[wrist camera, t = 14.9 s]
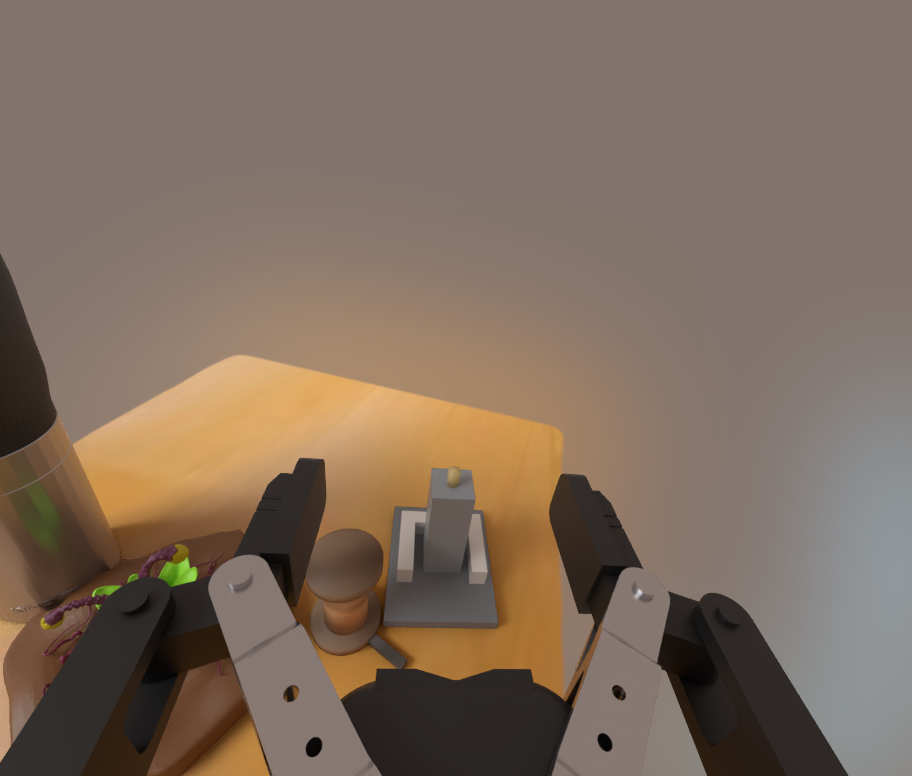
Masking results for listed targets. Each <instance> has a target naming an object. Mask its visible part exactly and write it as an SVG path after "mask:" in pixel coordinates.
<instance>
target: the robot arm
mask: <svg viewBox="0 0 912 776" xmlns="http://www.w3.org/2000/svg"><path fill="white" fill-rule="evenodd" d="M325 503H326V479H325V463H324V459H312V458H299V460H298V462H297V464H296V466H295V469H294V471H293V474H289V473H280V474H279V475H278V476H277V477H276V478H275V479H274V480H273V481H271V482H270V483H269V484H268V486H267V488H266V490H265V492H264V494H263V497H262V500H261V501H260V503H259V505H258V507H257V510H256V512H255V513H254V515H253V518H252V520H251V522H250V524H249V526H248V528H247V530H246V532H245V534H244V536H243V539H242V541H241V543H240V545H239V547H238V549H237V551H236V553H235V555H234V557H233V558H232V559H231V560H229V561H227V562H225V563H224V564H222V565H221V566H220V567H219V568H218V569H217V570H216V571H215V572H214V574H213V575H211V576H208V577H206V578H203V579H200V580H196V581H192V582H188V583H184V584H180V585H176V586H172V587H169V585H168V584H167V582H166V581H164V580H163V579H160V578H157V577H145V578H140V579H137V580H134V581H131V582H129V583H127V584H125V585H123V586H121V587H120V588H118V589H117V590H116V591H114V592H113V593H112V594H111V595H110V596H109V597H108V598H107V599H106V600H105V601H104V602H103V604H102V605H101V607H100V608H99V610H98V611H97V613H96V614H95V616H94V618H93V619H92V621H91V622H90V624H89V625H88V627H87V628H86V630H85V632H84V633H83V635H82V636H81V638H80V639H79V641H78V643H77V644H76V646H75V647H74V649H73V650H72V652H71V653H70V655H69V657H68V658H67V660H66V661H65V663H64V664H63V666H62V667H61V669H60V671H59V672H58V674H57V675H56V677H55V678H54V680H53V681H52V683H51V685H50V686H49V688H48V689H47V691H46V692H45V694H44V695H43V697H42V699H41V700H40V702H39V703H38V705H37V706H36V708H35V710H34V711H33V713H32V714H31V716H30V717H29V719H28V720H27V722H26V724H25V725H24V727H23V728H22V730H21V731H20V733H19V734H18V736H17V738H16V739H15V741H14V742H13V744H12V745H11V747H10V748H9V750H8V752H7V753H6V755H5V756H4V758H3V759H2V761H1V762H0V776H147V773H148V771H149V768H150V766H151V763H152V761H153V758H154V756H155V753H156V751H157V748H158V746H159V743H160V741H161V738H162V736H163V733H164V731H165V728H166V726H167V723H168V721H169V718H170V716H171V713H172V711H173V708H174V706H175V703H176V701H177V698H178V696H179V693H180V691H181V688H182V686H183V683H184V681H185V678H186V676H187V673H188V671H189V670H192V669H195V668H198V667H201V666H204V665H207V664H210V663H213V662H216V661H220V660H223V659H226V658H230V660H231V663H232V666H233V669H234V672H235V675H236V678H237V681H238V684H239V687H240V690H241V692H242V695H243V698H244V701H245V704H246V707H247V710H248V713H249V716H250V719H251V722H252V725H253V728H254V731H255V734H256V737H257V740H258V743H259V746H260V749H261V752H262V754H263V757H264V760H265V763H266V766H267V769H268V772H269V775H270V776H640V774H641V770H642V765H643V760H644V755H645V750H646V745H647V740H648V736H649V731H650V726H651V721H652V715H653V711H654V706H655V702H656V697H657V692H658V687H659V682H660V677H661V669H662V670H665V671H666V672H667V674H668V677H669V679H670V682H671V684H672V687H673V690H674V692H675V695H676V697H677V700H678V702H679V705H680V708H681V710H682V713H683V715H684V717H685V720H686V723H687V725H688V728H689V731H690V733H691V735H692V738H693V741H694V743H695V746H696V748H697V751H698V754H699V756H700V759H701V761H702V764H703V766H704V769H705V771H706V774H707V776H848V774H847V773H846V771H845V769H844V768H843V766H842V764H841V763H840V761H839V760H838V758H837V756H836V755H835V753H834V751H833V750H832V748H831V747H830V745H829V743H828V742H827V740H826V739H825V737H824V735H823V734H822V732H821V730H820V729H819V727H818V726H817V724H816V722H815V721H814V719H813V717H812V716H811V714H810V713H809V711H808V709H807V708H806V706H805V704H804V703H803V701H802V700H801V698H800V696H799V695H798V693H797V691H796V690H795V688H794V686H793V685H792V683H791V682H790V680H789V678H788V677H787V675H786V674H785V672H784V670H783V669H782V667H781V665H780V664H779V662H778V661H777V659H776V658H775V656H774V654H773V652H772V651H771V649H770V648H769V646H768V644H767V643H766V641H765V639H764V638H763V636H762V635H761V633H760V631H759V630H758V628H757V626H756V625H755V623H754V622H753V620H752V618H751V617H750V616H749V614H748V613H747V612H746V611H745V610H744V609H743V608H742V607H741V606H740V605H739V604H738V603H736V602H735V601H733V600H732V599H730V598H728V597H726V596H724V595H721V594H717V593H708V594H706V595H704V596H703V597H702V598H701V599H700V601H699V602H698V601H695V600H692V599H689V598H686V597H683V596H680V595H677V594H674V593H671V592H669V591H667V589H666V587H665V586H664V584H663V583H662V582H661V581H660V580H659V579H658V578H657V577H656V576H654V575H653V574H652V573H650V572H648V571H646V570H644V569H643V568H642V566H641V563H640V561H639V560H638V557H637V555H636V553H635V551H634V549H633V548H632V545H631V543H630V541H629V539H628V538H627V535H626V533H625V531H624V529H622V525H621V523H620V521H619V519H618V518H617V515H616V513H615V511H614V509H613V507H612V505H611V503H610V502H609V501H608V500H607V499H606V498H605V497H604V496H603V495H602V494H601V492H600V491H592V489H591V487H590V484H589V482H588V480H587V478H586V477H585V476H584V475H575V474H561V476H560V478H559V480H558V483H557V486H556V489H555V492H554V495H553V498H552V501H551V504H550V510H549V516H550V523H551V526H552V529H553V532H554V536H555V539H556V542H557V545H558V548H559V552H560V555H561V558H562V561H563V564H564V568H565V571H566V574H567V577H568V580H569V584H570V587H571V590H572V593H573V596H574V600H575V603H576V606H577V609H578V612H579V614H592V616H593V619H594V622H595V623H594V625H593V627H592V629H591V631H590V634H589V637H588V639H587V642H586V644H585V647H584V649H583V652H582V655H581V657H580V660H579V662H578V665H577V668H576V670H575V673H574V675H573V678H572V681H571V683H570V685H569V687H568V689H567V691H566V694H565V696H564V698H563V699H562V698H561V697H560V696H558V695H557V694H556V693H554V692H553V691H551V690H549V689H548V688H546V687H544V686H542V685H539V684H537V683H534V682H533V678H532V673H531V669H493V670H490V671H487V672H484V673H480V674H477V675H474V676H471V677H467V678H464V679H461V680H451V679H448V678H444V677H441V676H438V675H434V674H431V673H428V672H425V671H421V670H418V669H377V673H376V681H374V682H371V683H367V684H365V685H363V686H361V687H359V688H357V689H355V690H353V691H352V692H350V693H349V694H347V695H346V696H345V697H343V698H342V699H341V700H340V698H339V696H338V694H337V692H336V690H335V688H334V686H333V684H332V682H331V680H330V678H329V676H328V674H327V672H326V670H325V668H324V666H323V664H322V662H321V660H320V658H319V656H318V654H317V652H316V650H315V648H314V646H313V644H312V642H311V640H310V638H309V636H308V634H307V632H306V630H305V629H304V627H303V626H302V624H301V623H297V622H296V620H295V618H294V616H293V614H292V612H291V610H290V608H289V607H296V606H297V603H298V599H299V596H300V592H301V589H302V585H303V582H304V579H305V575H306V572H307V568H308V565H309V561H310V558H311V554H312V551H313V548H314V544H315V541H316V537H317V534H318V530H319V527H320V523H321V520H322V516H323V513H324V509H325ZM119 561H120V549H119V546H118V544H117V542H116V539H115V537H114V535H113V533H112V531H111V528H110V526H109V524H108V521H107V519H106V517H105V515H104V513H103V511H102V508H101V506H100V504H99V502H98V500H97V498H96V495H95V493H94V491H93V489H92V487H91V485H90V482H89V480H88V478H87V476H86V474H85V471H84V469H83V467H82V465H81V463H80V461H79V458H78V456H77V454H76V452H75V450H74V448H73V445H72V443H71V441H70V439H69V437H68V435H67V433H66V431H65V429H64V427H63V425H62V422H61V420H60V418H59V416H58V413H57V412H56V409H55V407H54V405H53V402H52V400H51V397H50V392H49V386H48V380H47V375H46V370H45V367H44V364H43V361H42V359H41V356H40V353H39V351H38V348H37V346H36V343H35V341H34V338H33V335H32V332H31V330H30V327H29V324H28V322H27V319H26V316H25V313H24V310H23V307H22V305H21V301H20V299H19V296H18V293H17V290H16V287H15V285H14V282H13V280H12V277H11V275H10V272H9V270H8V268H7V266H6V264H5V262H4V260H3V258H2V256H1V254H0V619H1V620H4V621H8V622H12V623H27V622H29V621H30V620H31V619H32V618H33V617H34V616H35V615H37V614H39V613H42V612H46V611H50V610H52V609H55V608H57V607H58V606H60V605H61V604H62V603H63V602H64V601H65V600H66V598H67V597H68V596H69V595H70V594H71V593H72V592H74V591H76V590H78V589H79V588H80V587H82V586H83V585H84V584H86V583H88V582H89V581H90V580H91V579H93V578H94V577H95V576H97V575H98V574H101V573H103V572H106V571H108V570H110V569H112V568H113V567H114V566H116V565H117V564H118V563H119Z"/></svg>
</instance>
